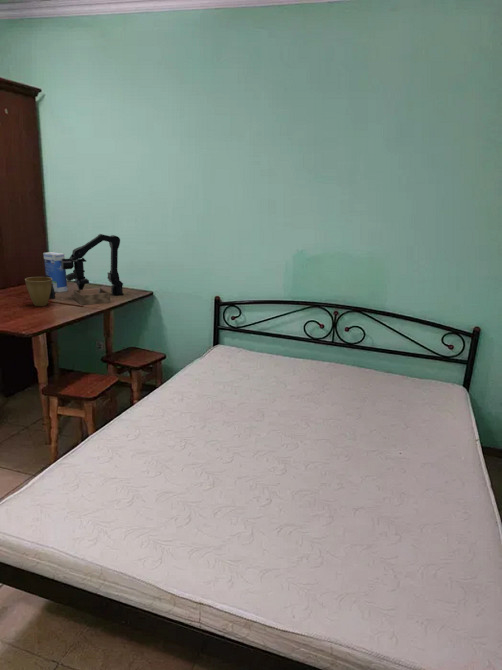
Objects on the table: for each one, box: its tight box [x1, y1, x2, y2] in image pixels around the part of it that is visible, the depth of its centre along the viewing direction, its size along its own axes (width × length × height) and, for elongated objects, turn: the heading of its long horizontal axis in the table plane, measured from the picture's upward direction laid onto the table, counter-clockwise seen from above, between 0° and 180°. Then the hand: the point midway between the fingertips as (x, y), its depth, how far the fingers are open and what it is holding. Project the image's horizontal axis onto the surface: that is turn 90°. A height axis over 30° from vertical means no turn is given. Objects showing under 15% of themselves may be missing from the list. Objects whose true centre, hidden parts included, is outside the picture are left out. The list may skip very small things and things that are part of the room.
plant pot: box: [24, 276, 52, 307], centre depth 282 cm, size 15×15×16 cm
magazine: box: [43, 274, 57, 300], centre depth 300 cm, size 4×13×15 cm, turn 92°
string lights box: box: [42, 251, 68, 293], centre depth 319 cm, size 13×8×26 cm, turn 58°
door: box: [80, 287, 101, 295], centre depth 305 cm, size 12×1×6 cm, turn 127°
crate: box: [73, 287, 111, 306], centre depth 298 cm, size 18×16×6 cm
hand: (80, 292), depth 306 cm, fingers closed
